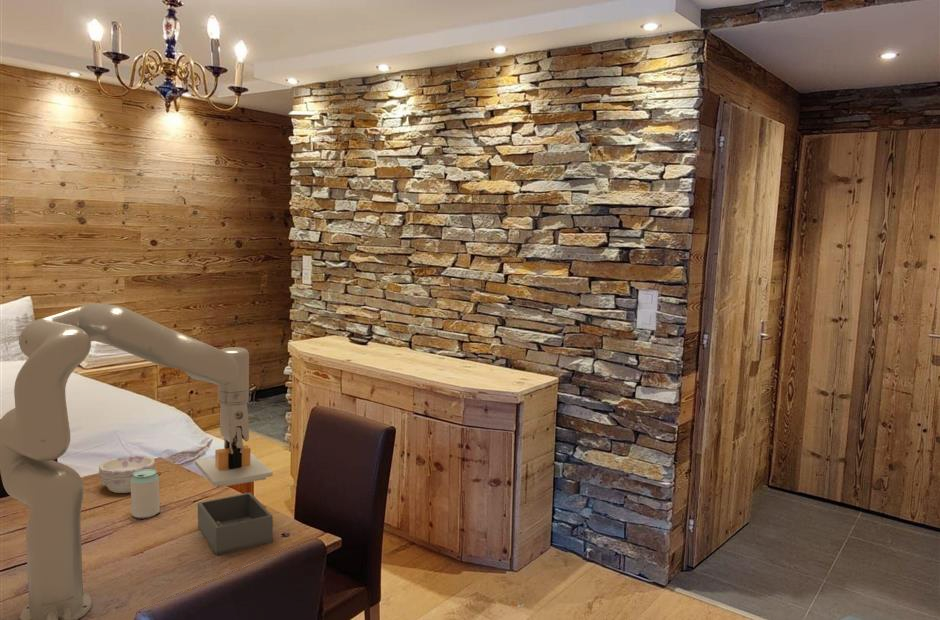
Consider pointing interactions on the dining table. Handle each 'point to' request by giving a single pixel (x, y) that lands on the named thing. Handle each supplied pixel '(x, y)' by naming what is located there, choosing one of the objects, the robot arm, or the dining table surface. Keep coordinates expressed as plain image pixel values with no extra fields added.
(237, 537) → the parts tub
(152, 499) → the can
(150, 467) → the paper bowls
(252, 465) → the lid
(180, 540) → the dining table surface
